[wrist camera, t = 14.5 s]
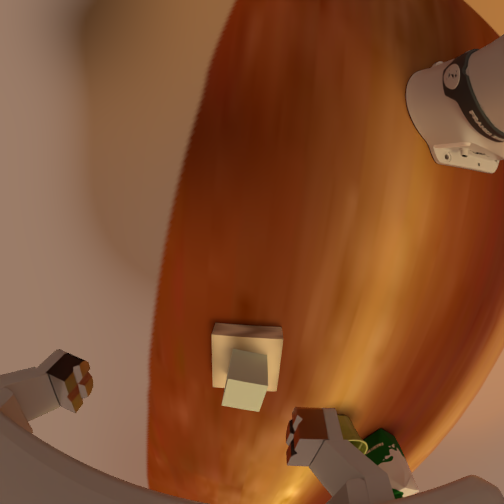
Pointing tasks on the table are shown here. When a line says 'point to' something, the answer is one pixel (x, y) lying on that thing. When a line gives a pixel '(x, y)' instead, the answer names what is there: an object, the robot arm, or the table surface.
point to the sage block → (246, 380)
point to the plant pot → (351, 434)
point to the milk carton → (391, 462)
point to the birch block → (245, 349)
